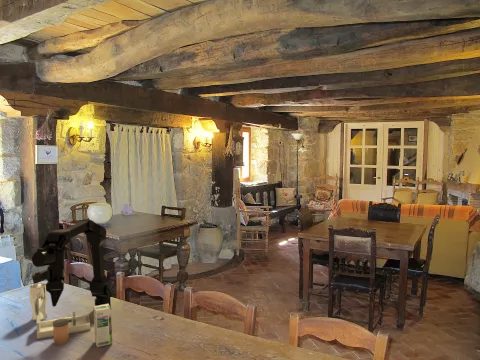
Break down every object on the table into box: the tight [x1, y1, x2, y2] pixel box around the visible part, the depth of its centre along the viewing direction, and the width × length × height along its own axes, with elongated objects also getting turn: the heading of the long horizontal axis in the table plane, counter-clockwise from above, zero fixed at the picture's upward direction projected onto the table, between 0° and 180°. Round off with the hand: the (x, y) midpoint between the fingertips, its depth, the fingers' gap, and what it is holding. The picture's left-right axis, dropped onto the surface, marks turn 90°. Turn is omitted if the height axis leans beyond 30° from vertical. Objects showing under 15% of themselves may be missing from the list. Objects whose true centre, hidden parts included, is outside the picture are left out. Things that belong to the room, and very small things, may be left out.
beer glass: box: [29, 282, 48, 322], centre depth 183 cm, size 7×7×15 cm
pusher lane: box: [36, 313, 91, 340], centre depth 173 cm, size 20×11×6 cm, turn 113°
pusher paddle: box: [69, 311, 76, 326], centre depth 174 cm, size 4×8×4 cm, turn 23°
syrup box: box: [92, 304, 113, 348], centre depth 161 cm, size 6×6×14 cm
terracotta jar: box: [53, 318, 70, 345], centre depth 162 cm, size 6×6×8 cm
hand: (54, 303), depth 162 cm, fingers open, 9 cm apart
